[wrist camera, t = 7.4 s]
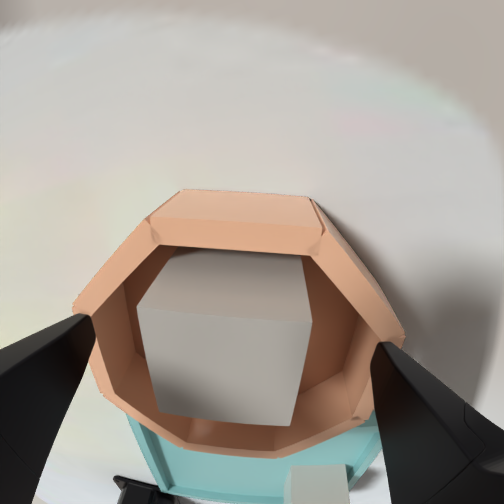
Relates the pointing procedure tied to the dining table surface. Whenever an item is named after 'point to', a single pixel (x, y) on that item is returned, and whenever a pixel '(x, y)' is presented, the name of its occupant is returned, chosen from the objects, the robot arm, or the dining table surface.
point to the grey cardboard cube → (316, 485)
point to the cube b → (227, 334)
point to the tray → (250, 466)
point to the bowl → (321, 306)
